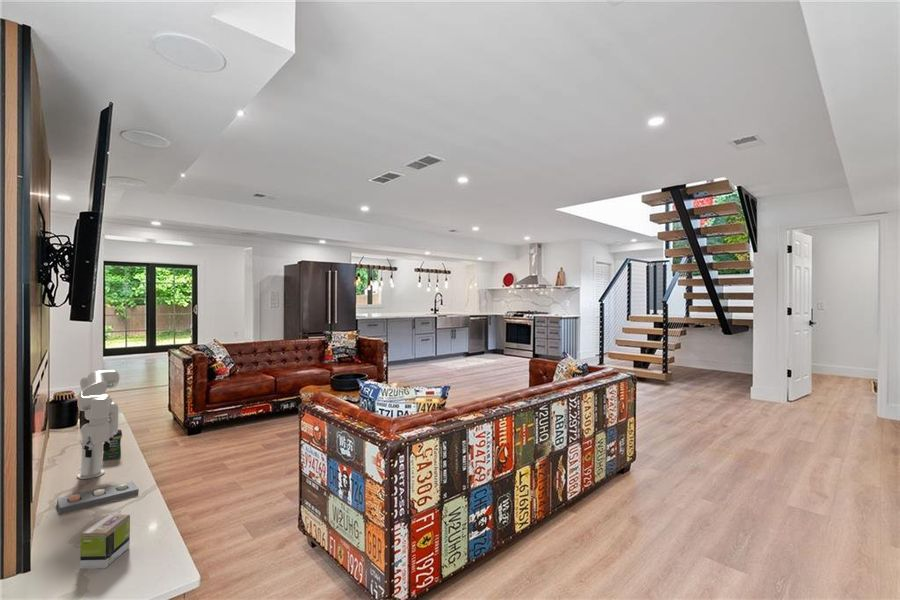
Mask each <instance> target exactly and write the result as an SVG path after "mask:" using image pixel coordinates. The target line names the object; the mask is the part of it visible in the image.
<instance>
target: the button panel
mask: <svg viewBox="0 0 900 600" xmlns="http://www.w3.org/2000/svg"><path fill="white" fill-rule="evenodd" d="M120 484H127V489H124V490H120V491H117V486H118V485H120ZM98 489H104V490H105V491H104V494H103V495H99V496H94V491H95V490H98ZM72 495H80V500H78V501H73V502H69V497H70V496H72ZM137 495H139V487H138V486H137V484H135V482H134V481H133V480H132V481H128V482H123V483H119V484H114V485H110V486H106V487H102V488H101V487H100V488H97V489H92V490H89V491H88V490H87V491H83V492H79V493H76V494H71V495H66V496H61V497H57V498H56V506H57V509H58V512H59V515H62V514H65V513H66V514H67V513H69V512H74V511H78V510H81V509H85V508H90V507H94V506H98V505H102V504H106V503H110V502H114V501H118V500H121V499H125V498H130V497H134V496H137Z"/></svg>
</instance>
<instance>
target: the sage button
mask: <svg viewBox="0 0 900 600" xmlns="http://www.w3.org/2000/svg"><path fill="white" fill-rule="evenodd" d="M119 484H120V485H118V484H117V485H118V486H117V491H120V490H124V489H127V484H122V483H119Z"/></svg>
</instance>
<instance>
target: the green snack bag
mask: <svg viewBox="0 0 900 600" xmlns="http://www.w3.org/2000/svg"><path fill="white" fill-rule="evenodd" d="M122 437H123V431H122V429H118V431H117V433H116V434H115V435H114V436H113V439H112V441H111V443H110V446H109V451H108V452H107V451H102V460H104V461H109V460H117V459H119V458H121V456H122V447H121V446H122V445H121V441H122V440H121V439H122Z"/></svg>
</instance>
